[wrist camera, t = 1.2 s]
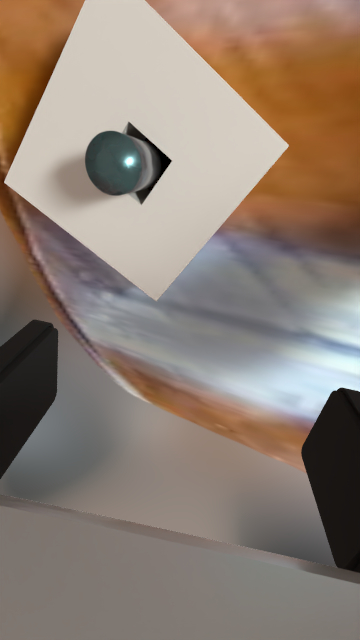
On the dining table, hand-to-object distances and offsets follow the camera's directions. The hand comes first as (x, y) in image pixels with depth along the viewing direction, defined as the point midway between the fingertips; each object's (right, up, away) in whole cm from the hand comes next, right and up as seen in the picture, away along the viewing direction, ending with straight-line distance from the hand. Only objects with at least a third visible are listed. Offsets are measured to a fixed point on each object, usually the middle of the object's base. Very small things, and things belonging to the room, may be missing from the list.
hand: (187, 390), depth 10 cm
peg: (-4, +17, +18) cm, 25 cm away
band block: (-3, +19, +23) cm, 30 cm away
